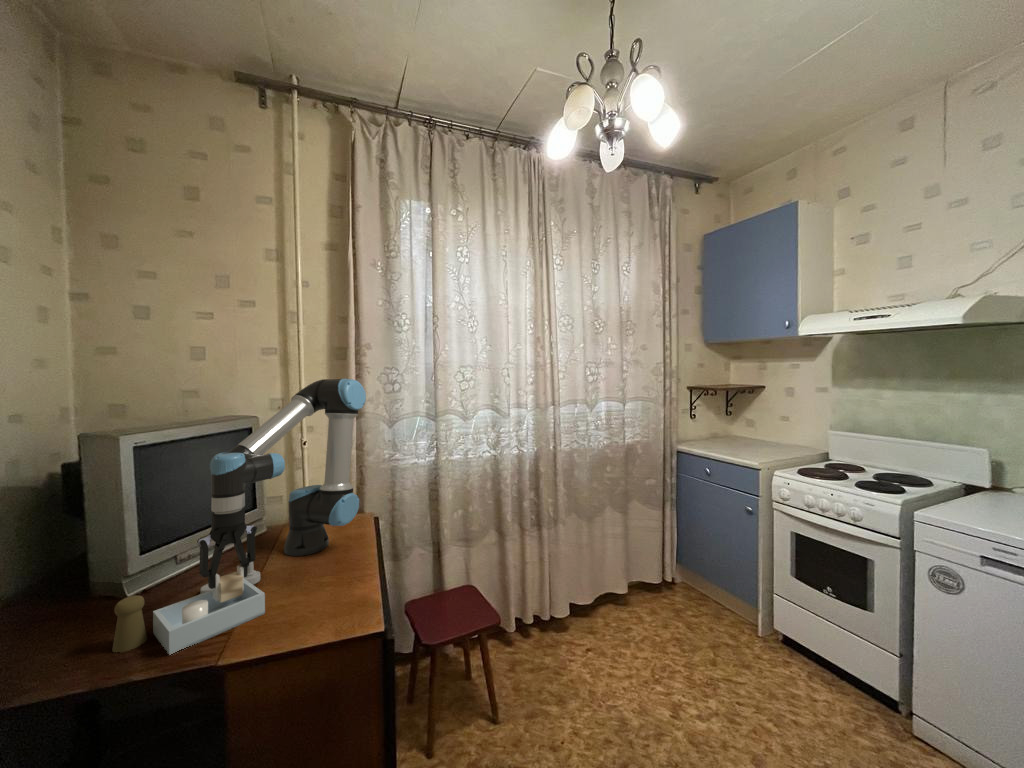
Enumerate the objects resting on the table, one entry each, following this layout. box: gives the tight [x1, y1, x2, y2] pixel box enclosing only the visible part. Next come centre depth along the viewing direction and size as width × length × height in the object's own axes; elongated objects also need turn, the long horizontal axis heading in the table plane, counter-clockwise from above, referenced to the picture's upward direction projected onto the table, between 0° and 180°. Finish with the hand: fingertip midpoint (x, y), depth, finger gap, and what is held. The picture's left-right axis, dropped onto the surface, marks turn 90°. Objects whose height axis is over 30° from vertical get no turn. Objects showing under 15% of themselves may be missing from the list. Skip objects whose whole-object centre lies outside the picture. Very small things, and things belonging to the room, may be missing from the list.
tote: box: [152, 579, 266, 656], centre depth 101 cm, size 20×14×6 cm
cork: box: [111, 595, 148, 654], centre depth 94 cm, size 6×6×11 cm
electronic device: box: [199, 552, 261, 595], centre depth 119 cm, size 5×10×15 cm
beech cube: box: [219, 571, 243, 603], centre depth 107 cm, size 5×5×5 cm
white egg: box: [182, 600, 208, 624], centre depth 96 cm, size 5×5×7 cm
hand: (228, 593), depth 107 cm, fingers closed on beech cube, 5 cm apart
